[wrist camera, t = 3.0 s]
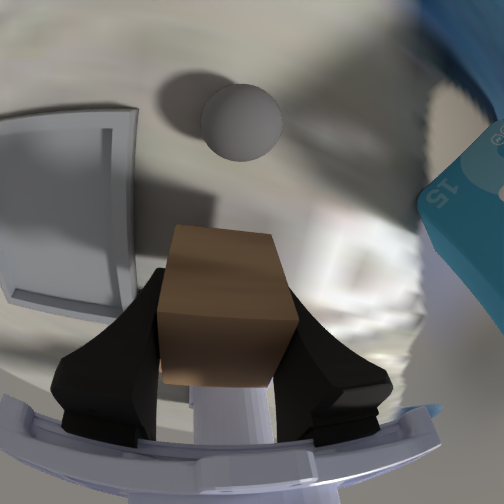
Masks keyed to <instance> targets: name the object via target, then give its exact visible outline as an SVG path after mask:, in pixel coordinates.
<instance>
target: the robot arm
mask: <svg viewBox="0 0 504 504" xmlns="http://www.w3.org/2000/svg"><path fill="white" fill-rule="evenodd" d="M165 269H166V268H157V269H156V270H155V271H154V273H153V275H152V276H151V278H150V279H149V281H148V282H147V283H146V285H145V286H144V288H143V289H142V290H141V291H140V293H139V294H138V295H137V297H136V298H135V299H134V300H133V301H132V303H131V304H130V305H129V306H128V307H127V308H126V310H125V311H124V312H123V313H122V314H121V315H120V316H119V317H118V318H117V319H116V320H115V321H114V322H113V323H112V324H110V325H109V326H108V327H107V328H106V329H105V330H104V331H102V332H101V333H100V334H99V335H97V336H96V337H95V338H93V339H92V340H91V341H89V342H88V343H86V344H85V345H84V346H82V347H81V348H79V349H77V350H76V351H74V352H72V353H71V354H69V355H67V356H65V357H63V358H62V359H61V361H60V363H59V365H58V367H57V369H56V371H55V374H54V378H53V381H52V384H51V387H50V389H51V393H52V394H53V396H54V398H55V399H56V400H57V402H58V403H59V404H60V405H61V407H62V408H63V409H64V415H63V419H62V421H59V420H56V419H53V418H50V417H47V416H45V415H41V414H39V413H36V412H34V410H33V409H32V408H31V407H30V406H29V405H28V404H26V403H25V402H23V401H21V400H18V399H16V398H13V397H11V396H9V395H7V394H3V396H2V399H1V402H0V449H1V450H2V451H4V452H5V453H7V454H8V455H10V456H12V457H13V458H15V459H16V460H18V461H20V462H22V463H24V464H26V465H29V466H31V467H33V468H35V469H38V470H40V471H42V472H45V473H47V474H50V475H52V476H55V477H58V478H60V479H63V480H66V481H68V482H72V483H74V484H77V485H80V486H84V487H87V488H90V489H94V490H97V491H101V492H105V493H109V494H113V495H117V496H122V497H127V498H128V504H341V503H340V498H339V494H338V490H337V489H340V488H344V487H347V486H350V485H354V484H357V483H359V482H363V481H366V480H368V479H371V478H374V477H377V476H379V475H382V474H385V473H387V472H390V471H392V470H394V469H397V468H399V467H402V466H404V465H406V464H409V463H411V462H413V461H415V460H416V459H418V458H420V457H422V456H423V455H425V454H427V453H429V452H431V451H432V450H434V449H436V448H437V447H439V446H440V445H441V441H440V439H439V436H438V434H437V432H436V429H435V427H434V424H433V422H432V420H431V417H430V415H429V413H428V410H427V408H426V406H422V407H419V408H416V409H413V410H411V411H408V412H406V413H405V414H403V415H402V416H401V417H400V418H399V419H398V420H394V421H391V422H388V423H384V424H381V425H379V423H378V420H377V418H376V416H377V415H378V414H379V412H378V409H377V407H378V406H379V405H380V404H381V403H382V402H383V401H384V400H385V399H386V398H387V397H388V396H389V395H390V394H391V392H392V390H393V385H392V383H391V380H390V378H389V376H388V374H387V372H386V370H384V369H382V368H380V367H378V366H377V365H375V364H373V363H371V362H369V361H367V360H366V359H364V358H362V357H361V356H359V355H358V354H356V353H355V352H353V351H352V350H350V349H349V348H348V347H346V346H345V345H344V344H342V343H341V342H340V341H338V340H337V339H336V338H335V337H334V336H333V335H331V334H330V333H329V332H328V331H327V330H326V329H325V328H324V327H323V326H322V325H321V324H320V323H319V322H318V321H317V320H316V319H315V318H314V317H313V316H312V315H311V314H310V312H309V311H308V310H307V309H306V308H305V307H304V305H303V304H302V303H301V302H300V301H299V299H298V298H297V297H296V295H295V294H294V293H293V292H292V290H291V289H290V288H289V289H290V293H291V296H292V299H293V302H294V305H295V308H296V311H297V314H298V317H299V322H298V325H297V327H296V329H295V331H294V334H293V336H292V338H291V340H290V342H289V344H288V347H287V349H286V351H285V353H284V355H283V357H282V359H281V361H280V363H279V365H278V367H277V370H276V372H275V374H274V376H273V378H272V380H273V383H274V392H275V404H276V421H277V443H274V438H273V432H272V426H271V420H270V414H269V408H268V401H267V395H266V392H267V390H268V388H269V386H270V384H271V382H272V380H271V382H270V384H269V386H268V388H222V387H200V386H189V407H190V408H192V409H193V416H194V444H180V443H169V442H159V441H156V408H157V388H158V374H159V365H160V348H159V336H158V322H157V308H158V303H159V298H160V293H161V288H162V283H163V278H164V273H165Z"/></svg>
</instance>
